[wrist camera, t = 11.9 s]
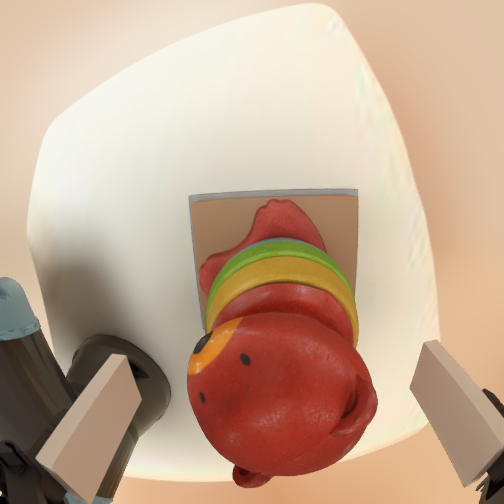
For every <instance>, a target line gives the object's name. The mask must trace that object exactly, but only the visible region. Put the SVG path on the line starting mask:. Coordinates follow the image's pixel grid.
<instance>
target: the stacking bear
mask: <svg viewBox="0 0 504 504" xmlns="http://www.w3.org/2000/svg"><path fill="white" fill-rule="evenodd" d="M199 276H200V280H199V284H200V287H201V289H202V290H203V292H204V293H205V294H206V295H207V297H208V302H207V310H206V325H207V334H206V335H205V336H204V337H202V338H201V339H200V341H199V342H198V343H197V345H196V347H195V349H194V351H193V353H192V355H191V357H190V360H189V364H188V375H187V388H188V395H189V400H190V403H191V406H192V409H193V411H194V414H195V416H196V418H197V420H198V423H199V425H200V427H201V429H202V431H203V432H204V434H205V436H206V438H207V439H208V440H209V442H210V443H211V445H212V446H213V447H214V448H215V449H216V450H217V451H218V453H220V454H221V455H222V456H223V457H224V458H226V459H227V460H229V461H230V462H232V463H233V464H235V466H234V468H233V473H232V475H233V480H234V481H235V483H236V484H237V485H239V486H241V487H244V488H255V487H259V486H262V485H264V484H265V483H267V482H268V481H269V480H270V479H271V478H272V477H273V476H297V475H303V474H307V473H311V472H315V471H318V470H321V469H324V468H326V467H328V466H330V465H332V464H334V463H336V462H337V461H339V460H340V459H341V458H343V457H344V456H345V455H346V454H347V453H348V452H349V451H350V450H352V448H353V447H354V446H355V445H356V444H357V442H358V441H359V440H360V438H361V436H362V435H363V433H364V431H365V429H366V427H367V425H368V424H369V423H370V422H371V420H372V419H373V417H374V416H375V413H376V410H377V405H378V399H377V395H376V391H375V389H374V387H373V384H372V380H371V377H370V374H369V371H368V369H367V367H366V365H365V363H364V361H363V359H362V358H361V356H360V355H359V353H358V352H357V351H356V346H357V342H358V334H359V329H358V316H357V311H356V305H355V299H354V296H353V293H352V290H351V287H350V285H349V282H348V280H347V278H346V276H345V275H344V273H343V271H342V270H341V268H340V267H339V266H338V265H337V264H336V262H335V261H334V260H333V259H332V258H331V257H330V256H329V255H328V254H327V250H326V247H325V245H324V242H323V240H322V237H321V235H320V233H319V232H318V230H317V228H316V227H315V225H314V224H313V222H312V221H311V219H310V218H309V217H308V216H307V215H306V213H305V212H304V211H303V210H302V209H301V208H300V207H299V206H297V205H296V204H295V203H294V202H292V201H290V200H288V199H284V200H282V201H279V200H277V199H271V200H269V201H268V202H267V204H266V205H265V206H261V207H260V208H259V209H258V210H257V211H256V214H255V217H254V221H253V224H252V227H251V229H250V231H249V233H248V235H247V236H246V238H245V239H244V240H243V241H242V242H241V243H240V244H239V245H237V246H236V247H234V248H233V249H231V250H228V251H225V252H220V253H215V254H213V255H210V256H209V257H208V258H207V259H206V262H205V263H204V264H202V265H201V267H200V269H199Z"/></svg>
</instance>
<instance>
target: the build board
mask: <svg viewBox="0 0 504 504" xmlns="http://www.w3.org/2000/svg"><path fill="white" fill-rule="evenodd" d="M271 199H277V200H279V201H282V200H284V199H288V200H290V201H292V202H294V203H295V204H296V205H297V206H299V207H300V208H301V209H302V210H303V211H304V212H305V213H306V215H307V216H308V217H309V218H310V219H311V221H312V222H313V224H314V225H315V227H316V228H317V230H318V232H319V233H320V235H321V237H322V240H323V242H324V245H325V247H326V250H327V254H328V255H329V256H330V257H331V258H332V259H333V260H334V261H335V262H336V264H337V265H338V266H339V267H340V268H341V270H342V271H343V273H344V275H345V276H346V278H347V280H348V282H349V285H350V287H351V290H352V293H353V296H355V283H356V268H357V248H358V189H296V190H266V191H245V192H228V193H213V194H200V195H191V196H189V207H190V219H191V230H192V241H193V251H194V260H195V269H196V277H197V286H198V293H199V301H200V308H201V316H202V323H203V329H205V334H207V325H206V310H207V302H208V297H207V295H206V294H205V293H204V292H203V290H202V289H201V287H200V284H199V280H200V276H199V269H200V267H201V265H202V264H204V263H205V262H206V259H207V258H208V257H209V256H210V255H213V254H215V253H220V252H225V251H228V250H231V249H233V248H234V247H236V246H237V245H239V244H240V243H241V242H242V241H243V240H244V239H245V238H246V236H247V235H248V233H249V231H250V229H251V227H252V224H253V221H254V217H255V214H256V211H257V210H258V209H259V208H260V207H261V206H265V205H266V204H267V202H268V201H269V200H271Z"/></svg>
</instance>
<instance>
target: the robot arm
mask: <svg viewBox="0 0 504 504" xmlns="http://www.w3.org/2000/svg"><path fill="white" fill-rule="evenodd" d="M40 327H41V326H40V323H39V320H38V319H37V317H35V316H34V313H33V311H32V310H31V307H30V304H29V302H28V300H27V297H26V295H25V293H24V290H23V289H22V287H21V286H20V284H19V283H18V282H16V281H15V280H13V279H11V278H6V277H3V278H0V491H1V492H2V495H1V496H0V504H110V503H111V502H112V501H113V497H114V494H115V492H116V490H117V487H118V485H119V482H120V480H121V478H122V475H123V473H124V471H125V468H126V466H127V464H128V461H129V459H130V457H131V454H132V452H133V450H134V447H135V445H136V443H137V441H138V439H139V437H140V436H141V435H142V434H143V433H144V432H145V431H147V430H148V429H149V428H150V427H151V426H152V425H153V424H154V423H155V422H156V421H157V420H159V419H160V418H161V417H162V416H163V414H164V413H165V411H166V408H167V406H168V404H169V401H170V387H169V384H168V382H167V379H166V377H165V376H164V374H163V372H162V371H161V369H160V368H159V367H158V366H157V365H156V363H155V362H154V361H153V360H152V359H151V358H150V357H149V356H147V355H146V354H145V353H144V352H143V351H141V350H140V349H138V348H137V347H135V346H134V345H132V344H130V343H128V342H126V341H124V340H122V339H119V338H116V337H113V336H107V335H97V336H93V337H90V338H88V339H87V340H86V341H85V342H84V343H83V344H82V345H81V346H80V347H79V348H78V349H77V350H76V352H75V354H74V356H73V359H72V365H71V367H70V368H69V371H68V373H67V376H66V377H65V375H64V374H63V372H62V370H61V368H60V366H59V365H58V363H57V361H56V359H55V357H54V355H53V353H52V351H51V349H50V347H49V345H48V343H47V341H46V339H45V337H44V335H43V333H42V330H41V328H40ZM410 390H411V391H412V393H413V395H414V396H415V398H416V400H417V401H418V403H419V405H420V406H421V408H422V410H423V411H424V413H425V415H426V417H427V418H428V420H429V422H430V424H431V425H432V427H433V429H434V431H435V433H436V434H437V436H438V438H439V440H440V442H441V444H442V445H443V447H444V449H445V451H446V453H447V455H448V457H449V459H450V460H451V462H452V464H453V466H454V468H455V470H456V472H457V474H458V476H459V478H460V480H461V483H462V485H463V487H464V488H465V487H467V486H469V485H470V484H472V483H474V482H475V481H477V480H479V479H480V478H481V477H482V475H484V474H485V472H486V471H487V473H488V476H487V477H486V478H485V479H484V480H483V481H482V482H481V483H480V484H479V485H478V486H477V488H476V491H478V490H479V489H480V488H481V487H482V486H483V485H484V487H483V489H482V490H481V491H482V494H481V498H480V501H479V504H504V406H503V404H502V403H500V401H499V399H498V398H497V397H496V396H495V395H494V394H493V393H492V392H490V391H488V390H487V389H483V390H481V389H480V388H479V387H478V386H477V384H476V383H475V382H474V381H473V380H472V379H471V378H470V376H469V375H468V374H467V373H466V372H465V371H464V369H463V368H462V367H461V366H460V365H459V364H458V363H457V361H456V360H455V359H454V358H453V357H452V356H451V355H450V354H449V353H448V352H447V350H446V349H445V348H444V347H443V346H442V345H441V344H440V343H439V342H438V341H437V340H432V341H428V342H424V343H423V346H422V350H421V353H420V357H419V360H418V364H417V367H416V370H415V373H414V376H413V379H412V382H411V385H410Z"/></svg>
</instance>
